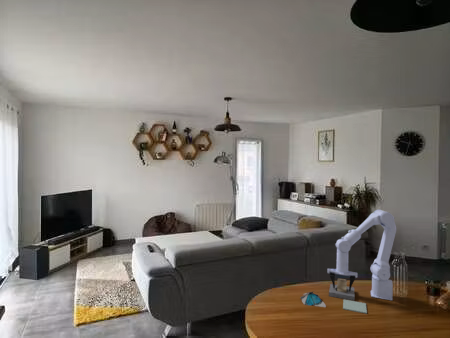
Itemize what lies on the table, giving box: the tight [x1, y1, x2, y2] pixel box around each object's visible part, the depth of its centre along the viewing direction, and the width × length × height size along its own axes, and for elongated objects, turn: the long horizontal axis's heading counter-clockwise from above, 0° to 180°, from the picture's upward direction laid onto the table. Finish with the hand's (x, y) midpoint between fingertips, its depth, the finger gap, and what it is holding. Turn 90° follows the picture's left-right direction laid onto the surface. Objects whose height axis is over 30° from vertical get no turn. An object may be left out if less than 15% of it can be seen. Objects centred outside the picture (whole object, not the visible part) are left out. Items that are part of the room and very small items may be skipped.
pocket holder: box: [328, 283, 355, 301], centre depth 153 cm, size 12×12×2 cm
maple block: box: [336, 277, 348, 293], centre depth 153 cm, size 4×4×7 cm
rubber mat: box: [342, 299, 368, 315], centre depth 139 cm, size 10×10×1 cm
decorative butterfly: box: [300, 290, 327, 308], centre depth 143 cm, size 10×6×10 cm
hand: (341, 288), depth 153 cm, fingers open, 7 cm apart
